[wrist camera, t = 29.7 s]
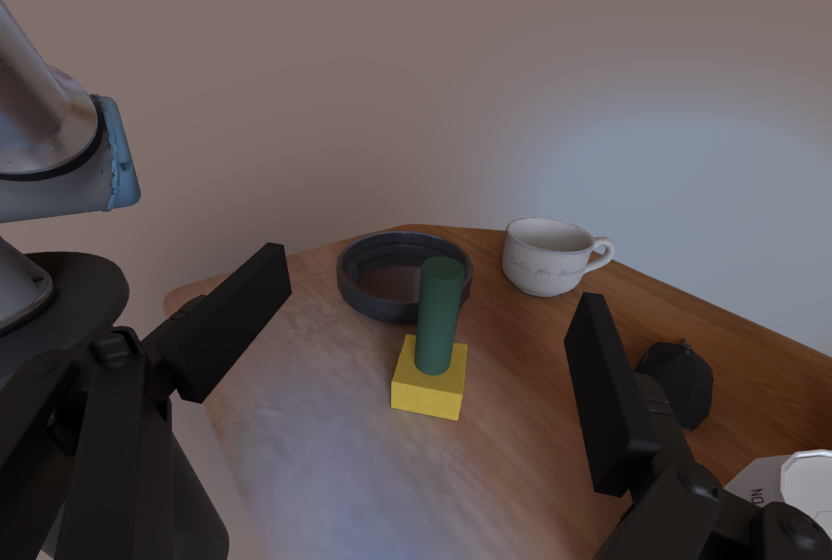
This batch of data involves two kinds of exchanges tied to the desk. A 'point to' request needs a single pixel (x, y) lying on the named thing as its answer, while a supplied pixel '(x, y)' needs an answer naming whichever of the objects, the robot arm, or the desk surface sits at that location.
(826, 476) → the supplement can
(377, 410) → the desk surface
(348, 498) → the desk surface
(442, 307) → the green peg on stand
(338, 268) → the bowl
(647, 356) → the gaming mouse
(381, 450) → the desk surface
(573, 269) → the teacup
